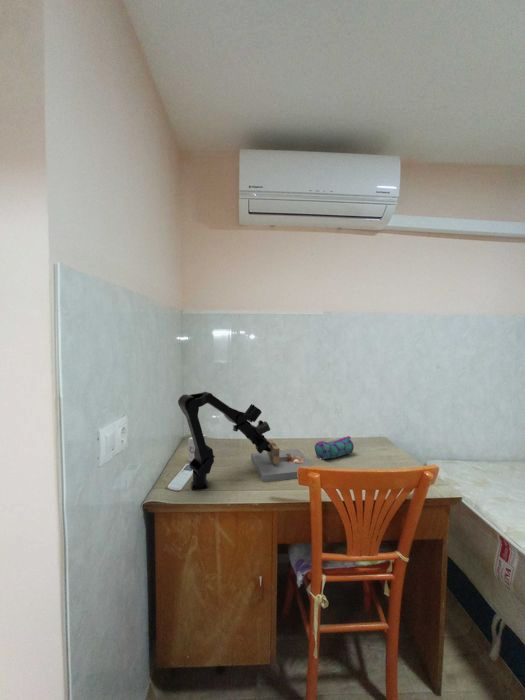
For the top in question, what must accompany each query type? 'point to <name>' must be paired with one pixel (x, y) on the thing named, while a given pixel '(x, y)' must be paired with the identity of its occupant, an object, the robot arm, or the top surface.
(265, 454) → the deck
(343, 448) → the pencil case
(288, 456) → the plunger
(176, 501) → the top surface
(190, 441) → the ink box
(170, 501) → the top surface
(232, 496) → the top surface
